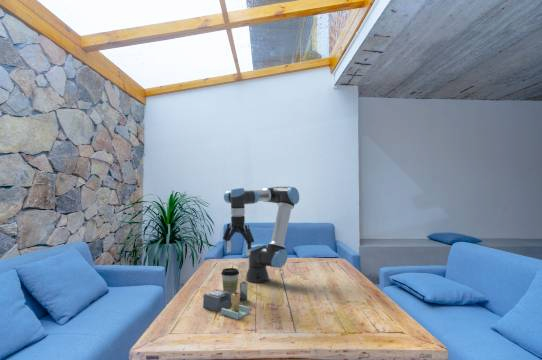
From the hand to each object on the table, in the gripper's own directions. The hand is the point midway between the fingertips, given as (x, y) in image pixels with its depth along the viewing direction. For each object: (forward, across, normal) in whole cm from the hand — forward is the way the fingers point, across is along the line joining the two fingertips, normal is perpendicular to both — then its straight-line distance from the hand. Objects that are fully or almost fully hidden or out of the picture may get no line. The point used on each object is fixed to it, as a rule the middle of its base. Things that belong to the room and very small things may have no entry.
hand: (238, 253), depth 174 cm
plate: (+18, 0, -17) cm, 25 cm away
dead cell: (+24, +5, -2) cm, 25 cm away
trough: (+23, +14, -20) cm, 33 cm away
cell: (+23, +14, -20) cm, 33 cm away
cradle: (+23, 0, -17) cm, 29 cm away
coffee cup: (+24, -4, -3) cm, 25 cm away
